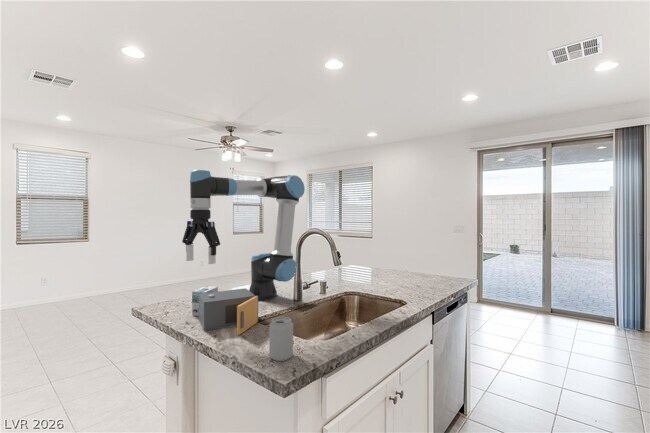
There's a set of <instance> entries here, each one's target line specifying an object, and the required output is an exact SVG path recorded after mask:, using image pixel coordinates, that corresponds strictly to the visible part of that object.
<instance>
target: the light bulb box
mask: <svg viewBox="0 0 650 433" xmlns="http://www.w3.org/2000/svg"><path fill="white" fill-rule="evenodd" d="M218 290H219V287H218V286H212V285H211V286H209V285H204V286H202V287H200V288H197V289H195V290H193V291H191V296H192V297H191V316H193V317H194V316H196V317H197V316H198V317H199V294H202V293H211V292H219V291H218Z"/></svg>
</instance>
